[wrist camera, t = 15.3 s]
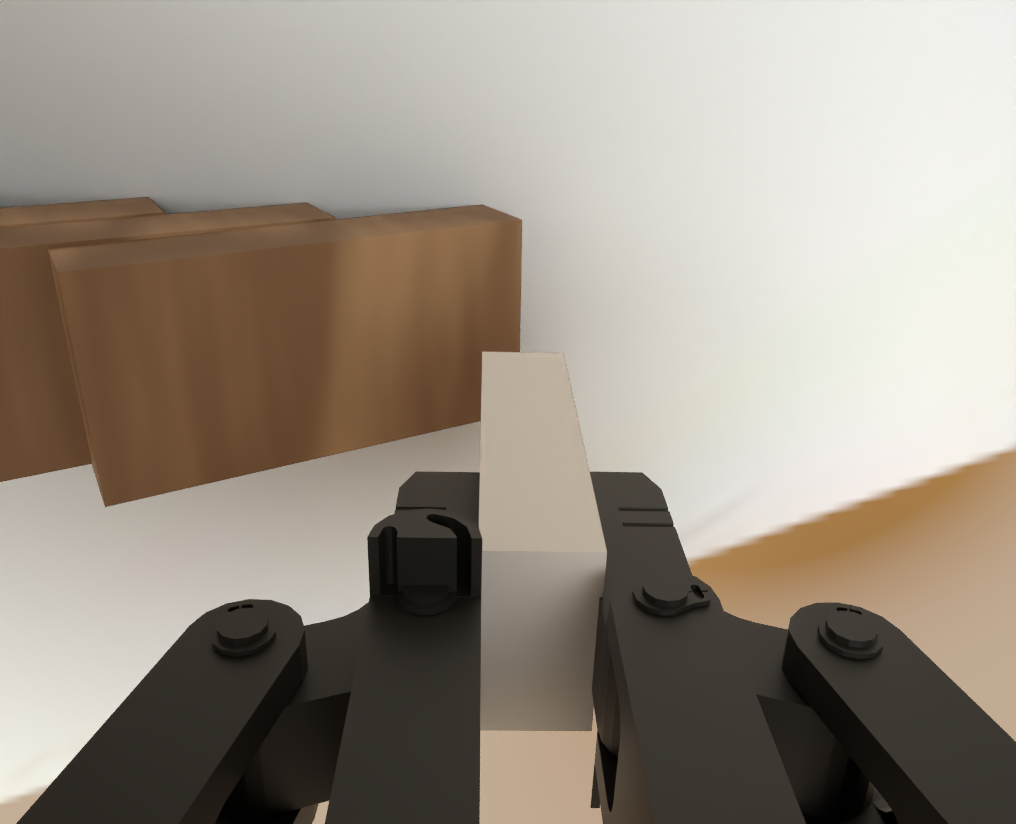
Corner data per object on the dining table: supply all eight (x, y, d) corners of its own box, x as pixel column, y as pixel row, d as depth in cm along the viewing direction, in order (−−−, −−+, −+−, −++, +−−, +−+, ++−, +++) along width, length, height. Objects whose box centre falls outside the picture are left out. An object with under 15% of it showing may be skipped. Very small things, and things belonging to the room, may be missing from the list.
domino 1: (320, 385, 24) (-113, 465, 20) (306, 202, 22) (-180, 242, 18) (346, 412, 23) (-117, 505, 18) (334, 217, 21) (-191, 266, 16)
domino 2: (482, 385, 25) (92, 467, 20) (481, 205, 22) (47, 249, 18) (518, 412, 23) (105, 507, 18) (522, 219, 21) (57, 272, 16)
